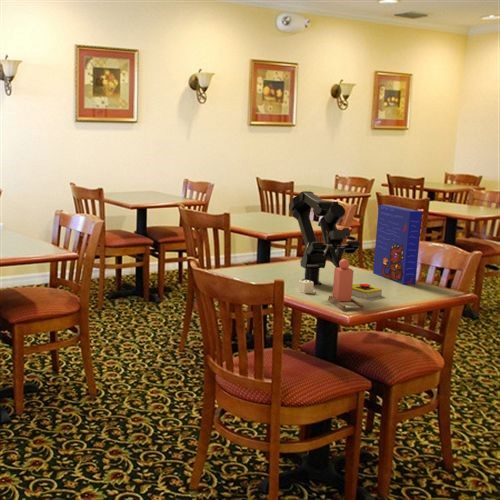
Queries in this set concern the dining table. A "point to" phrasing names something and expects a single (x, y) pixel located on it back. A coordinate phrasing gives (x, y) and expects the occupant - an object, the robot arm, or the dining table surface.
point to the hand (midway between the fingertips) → (338, 268)
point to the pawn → (343, 281)
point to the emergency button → (366, 291)
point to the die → (305, 286)
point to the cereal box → (397, 243)
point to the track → (346, 304)
